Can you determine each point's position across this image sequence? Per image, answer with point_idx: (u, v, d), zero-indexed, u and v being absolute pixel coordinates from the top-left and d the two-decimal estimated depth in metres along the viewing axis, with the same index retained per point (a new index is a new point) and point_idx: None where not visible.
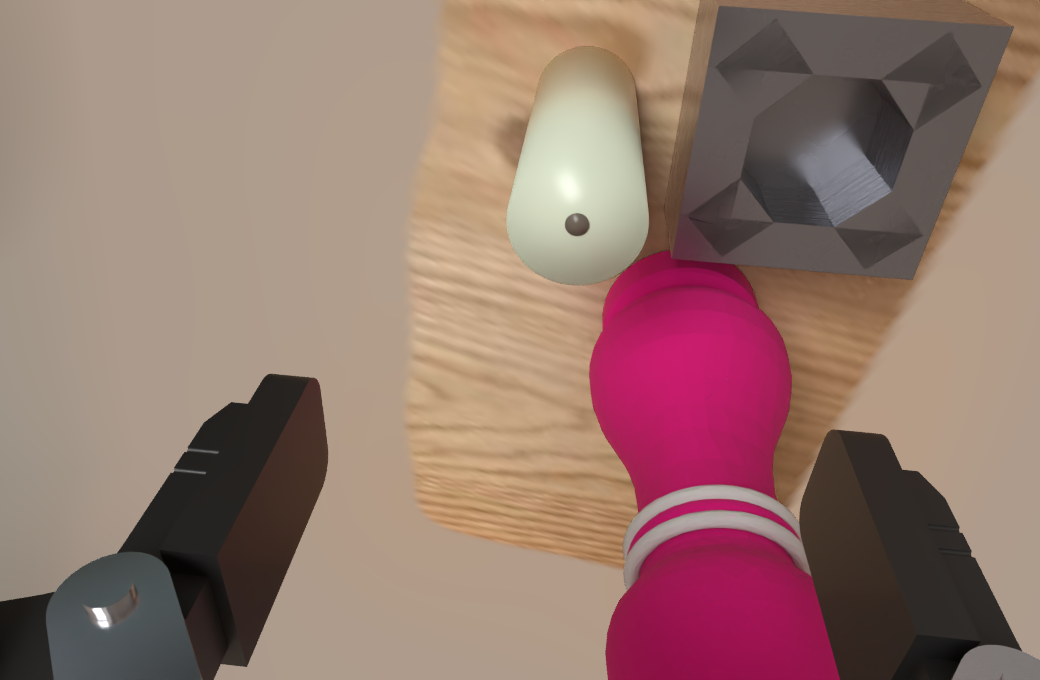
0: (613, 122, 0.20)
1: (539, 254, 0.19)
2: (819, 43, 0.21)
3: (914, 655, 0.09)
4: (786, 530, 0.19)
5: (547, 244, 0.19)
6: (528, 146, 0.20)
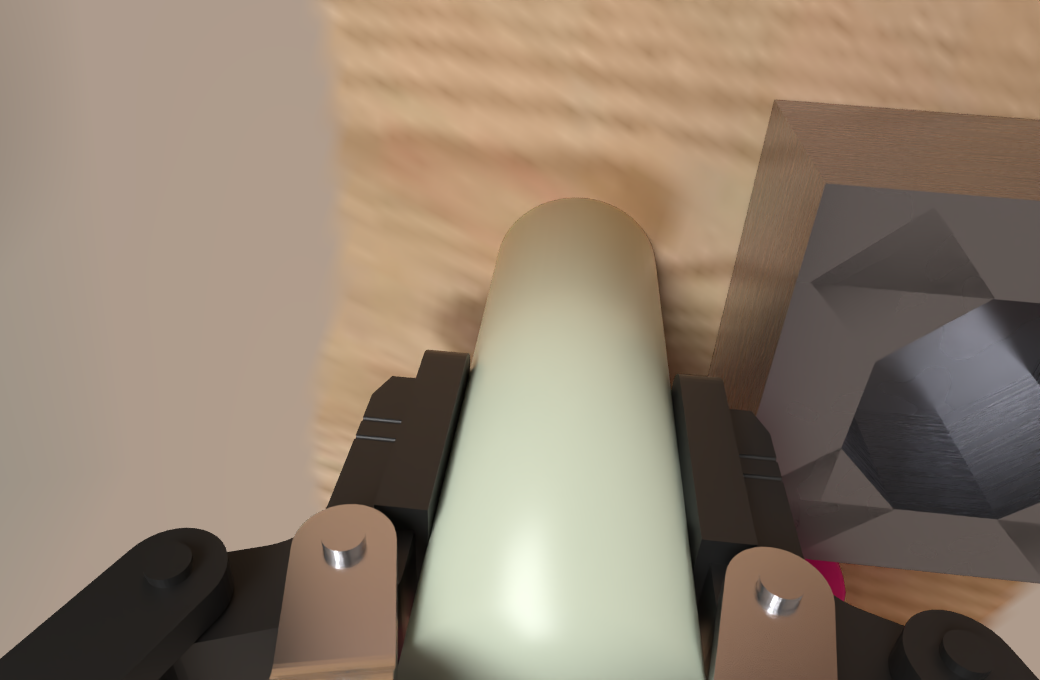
0: (626, 427, 0.10)
1: None
2: (1012, 250, 0.11)
3: (703, 560, 0.09)
4: None
5: None
6: (454, 480, 0.10)
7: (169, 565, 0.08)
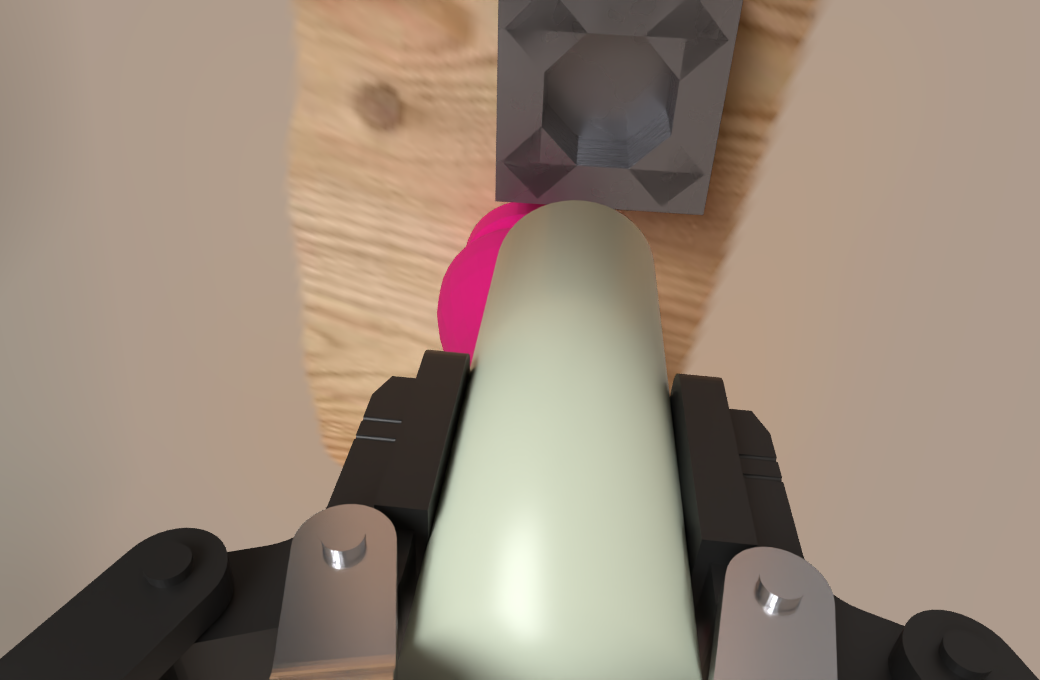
0: (624, 430, 0.10)
1: None
2: (587, 5, 0.25)
3: (703, 560, 0.09)
4: None
5: None
6: (453, 482, 0.10)
7: (168, 565, 0.08)
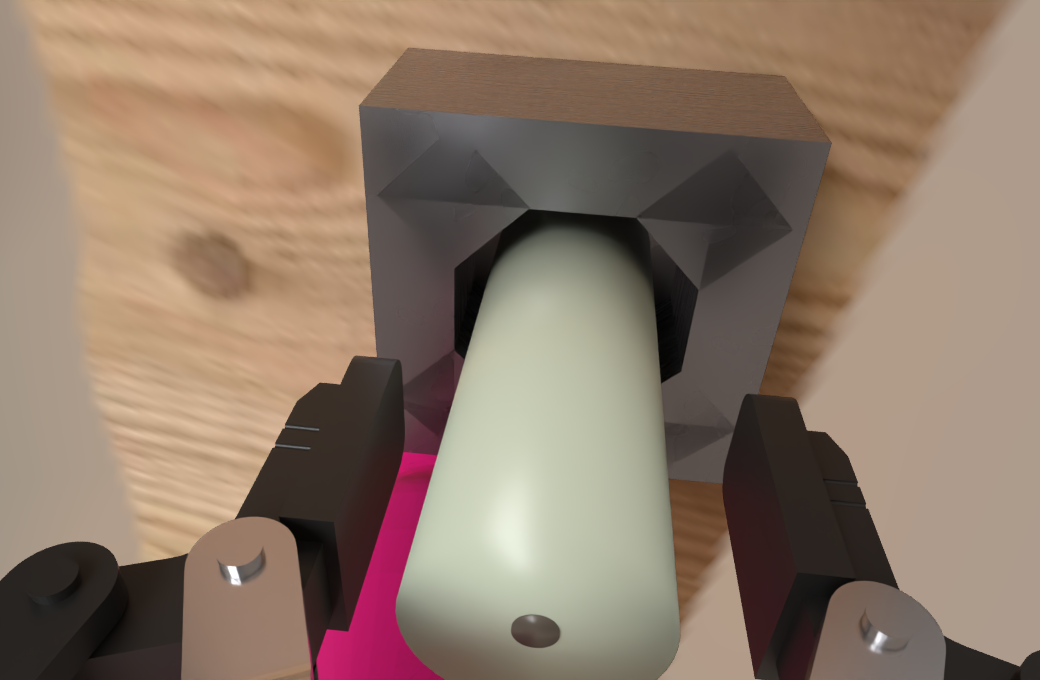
0: (611, 385, 0.11)
1: (464, 664, 0.10)
2: (528, 164, 0.13)
3: (797, 593, 0.09)
4: None
5: (479, 652, 0.10)
6: (452, 431, 0.11)
7: (54, 580, 0.08)
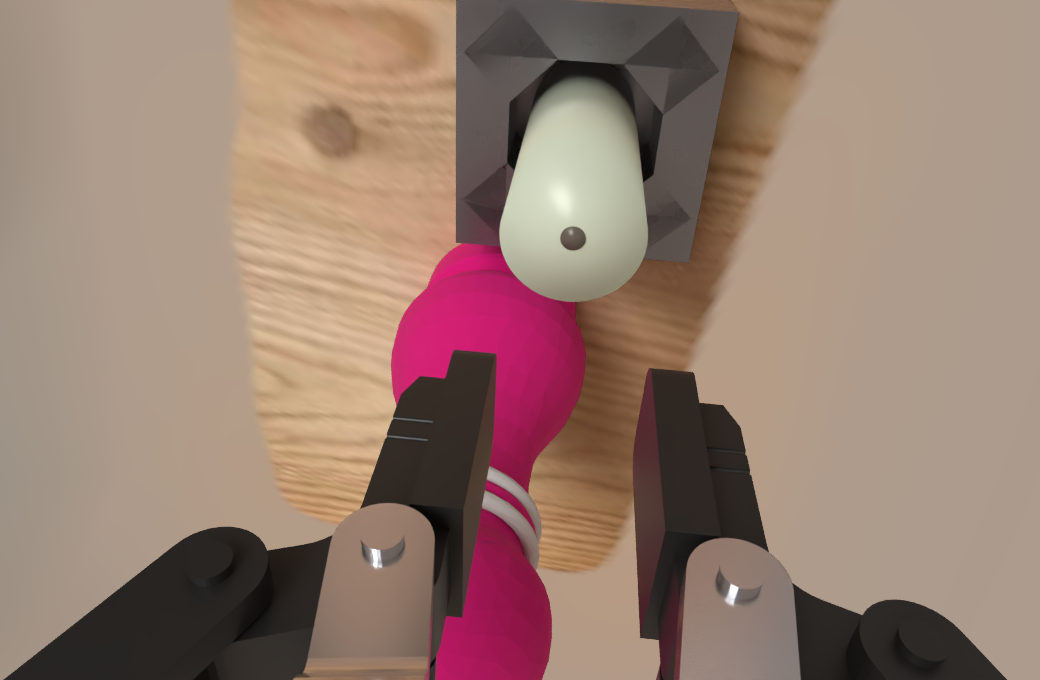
0: (610, 132, 0.19)
1: (534, 269, 0.18)
2: (558, 28, 0.22)
3: (668, 551, 0.10)
4: (501, 500, 0.20)
5: (542, 259, 0.18)
6: (522, 158, 0.19)
7: (210, 564, 0.08)
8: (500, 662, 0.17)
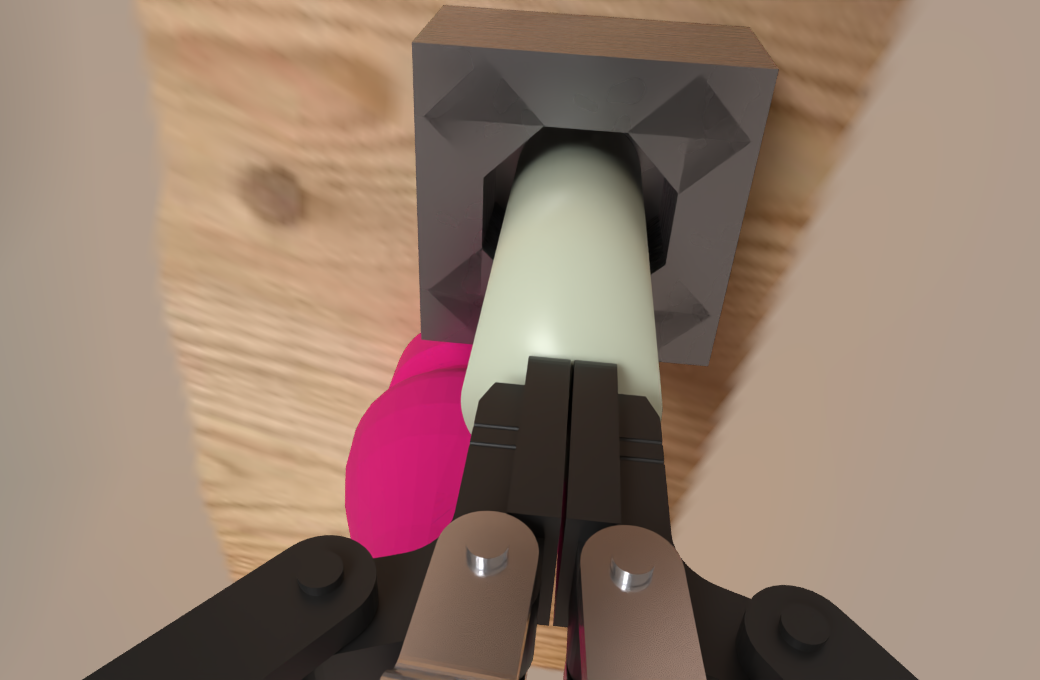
0: (610, 249, 0.15)
1: None
2: (544, 88, 0.17)
3: (571, 539, 0.10)
4: None
5: None
6: (493, 286, 0.15)
7: (320, 573, 0.08)
8: None
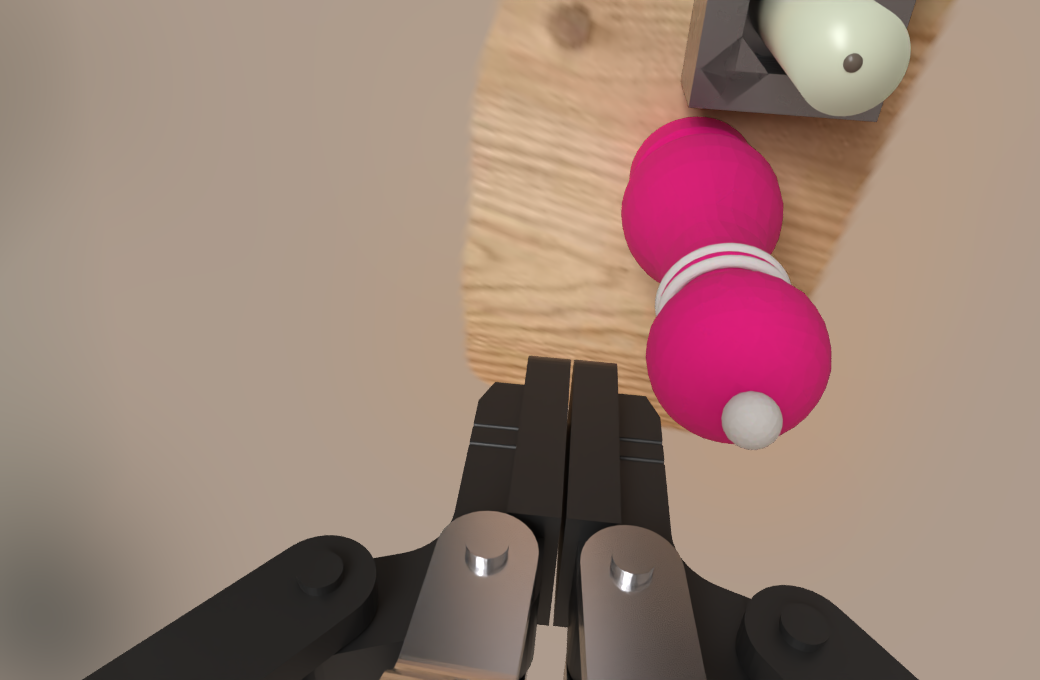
0: None
1: (818, 90, 0.25)
2: None
3: (571, 539, 0.10)
4: (777, 269, 0.26)
5: (826, 81, 0.25)
6: (798, 13, 0.26)
7: (320, 573, 0.08)
8: (815, 354, 0.23)
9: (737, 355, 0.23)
